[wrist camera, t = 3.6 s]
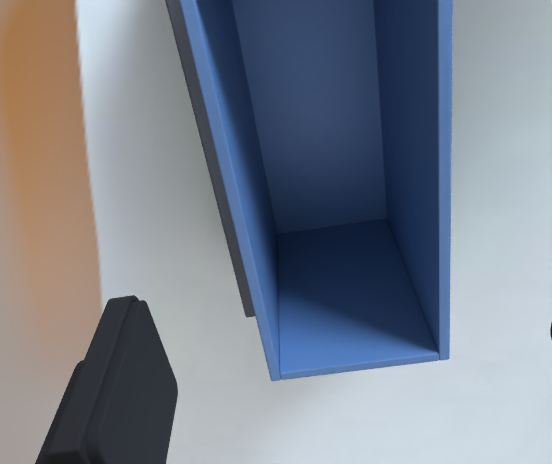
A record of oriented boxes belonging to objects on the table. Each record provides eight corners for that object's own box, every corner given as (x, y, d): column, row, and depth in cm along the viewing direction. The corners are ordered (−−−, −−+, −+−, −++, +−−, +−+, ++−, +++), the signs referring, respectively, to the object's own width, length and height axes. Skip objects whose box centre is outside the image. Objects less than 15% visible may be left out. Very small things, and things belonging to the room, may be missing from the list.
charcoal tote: (409, -139, 21) (448, -156, 17) (419, 233, 31) (446, 291, 26) (169, -92, 22) (140, -95, 17) (249, 257, 32) (245, 317, 27)
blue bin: (375, -87, 22) (454, -91, 12) (392, 218, 30) (449, 359, 20) (212, -56, 22) (170, -37, 13) (271, 236, 30) (271, 381, 21)
